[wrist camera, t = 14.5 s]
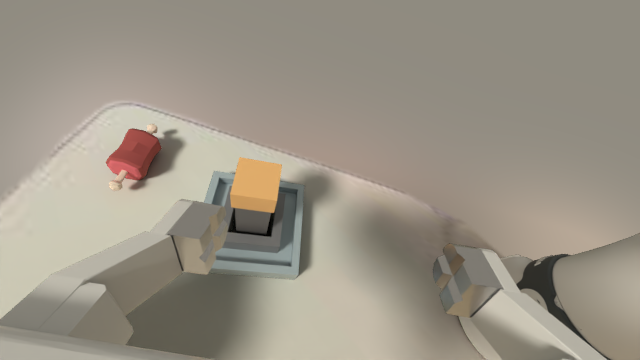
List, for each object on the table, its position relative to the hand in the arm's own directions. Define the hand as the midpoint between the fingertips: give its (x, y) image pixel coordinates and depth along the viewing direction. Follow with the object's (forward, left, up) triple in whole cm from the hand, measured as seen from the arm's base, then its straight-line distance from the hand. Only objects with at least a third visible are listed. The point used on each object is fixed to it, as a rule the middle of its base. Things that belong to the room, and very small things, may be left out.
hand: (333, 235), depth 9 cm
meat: (+22, -19, -28) cm, 41 cm away
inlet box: (+4, -11, -28) cm, 30 cm away
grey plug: (+4, -11, -28) cm, 30 cm away
